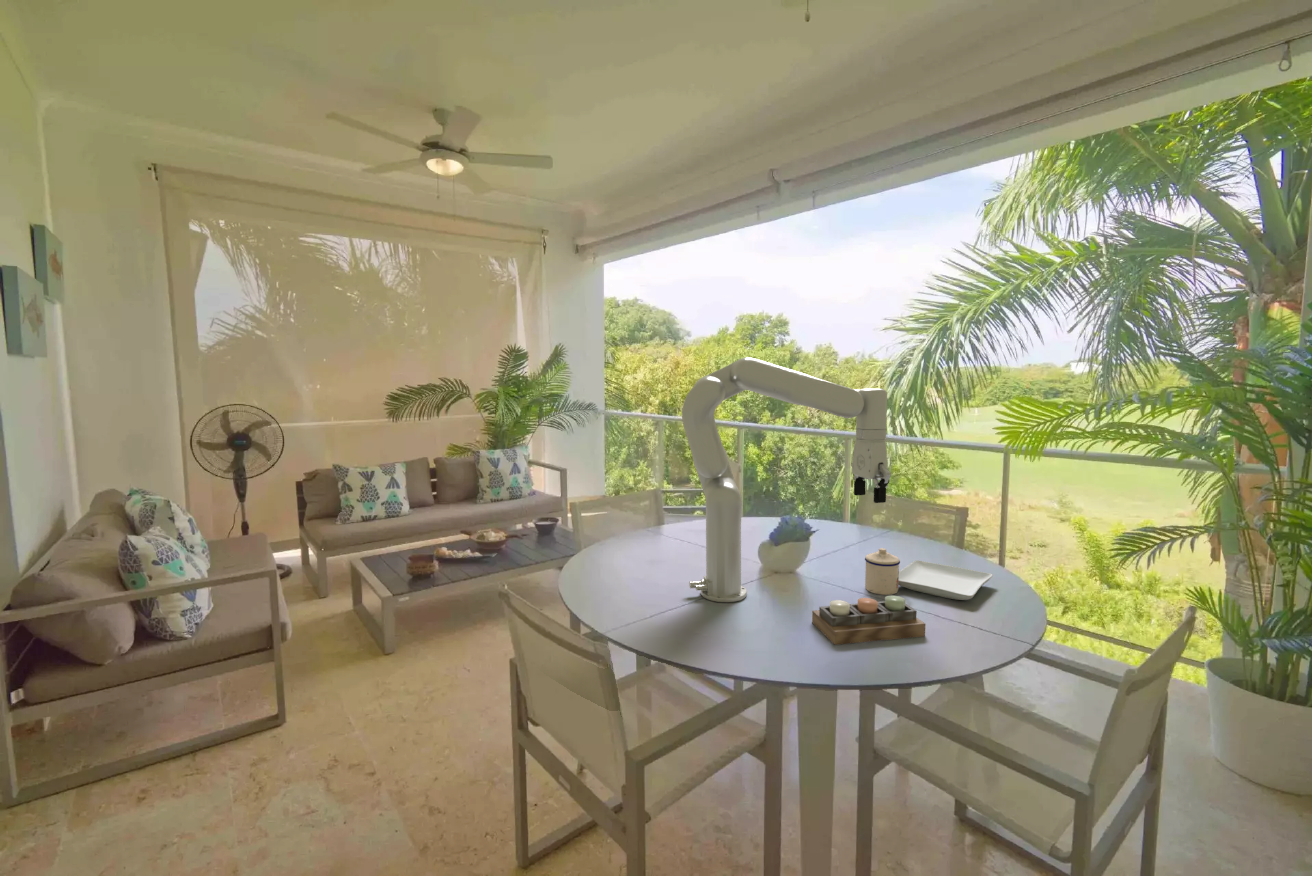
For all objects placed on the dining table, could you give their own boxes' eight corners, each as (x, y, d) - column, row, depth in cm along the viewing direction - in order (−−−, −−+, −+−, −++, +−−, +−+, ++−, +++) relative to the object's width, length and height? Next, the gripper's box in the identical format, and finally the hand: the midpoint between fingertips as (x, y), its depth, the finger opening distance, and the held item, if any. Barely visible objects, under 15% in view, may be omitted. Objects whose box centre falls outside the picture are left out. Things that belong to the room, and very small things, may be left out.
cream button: (834, 618, 134) (835, 608, 134) (826, 610, 138) (826, 600, 138) (852, 616, 135) (853, 606, 134) (843, 609, 139) (844, 599, 139)
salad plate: (888, 588, 164) (888, 576, 163) (915, 569, 179) (915, 558, 179) (971, 608, 149) (972, 595, 149) (993, 585, 165) (993, 573, 164)
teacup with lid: (905, 595, 159) (906, 553, 157) (872, 596, 158) (873, 554, 157) (885, 579, 171) (886, 540, 169) (855, 580, 170) (855, 541, 169)
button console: (834, 644, 130) (835, 623, 130) (812, 622, 142) (812, 602, 142) (925, 636, 134) (925, 615, 133) (895, 615, 146) (896, 595, 145)
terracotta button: (863, 615, 135) (863, 605, 135) (854, 608, 139) (854, 598, 139) (881, 614, 136) (881, 604, 136) (871, 606, 140) (871, 597, 140)
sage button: (891, 613, 136) (891, 603, 136) (881, 605, 141) (881, 596, 140) (908, 611, 137) (909, 601, 137) (898, 604, 141) (898, 594, 141)
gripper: (841, 432, 163) (840, 493, 165) (876, 439, 146) (874, 506, 148) (866, 431, 164) (864, 491, 166) (903, 438, 147) (901, 504, 149)
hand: (869, 498), depth 157 cm, fingers open, 9 cm apart
